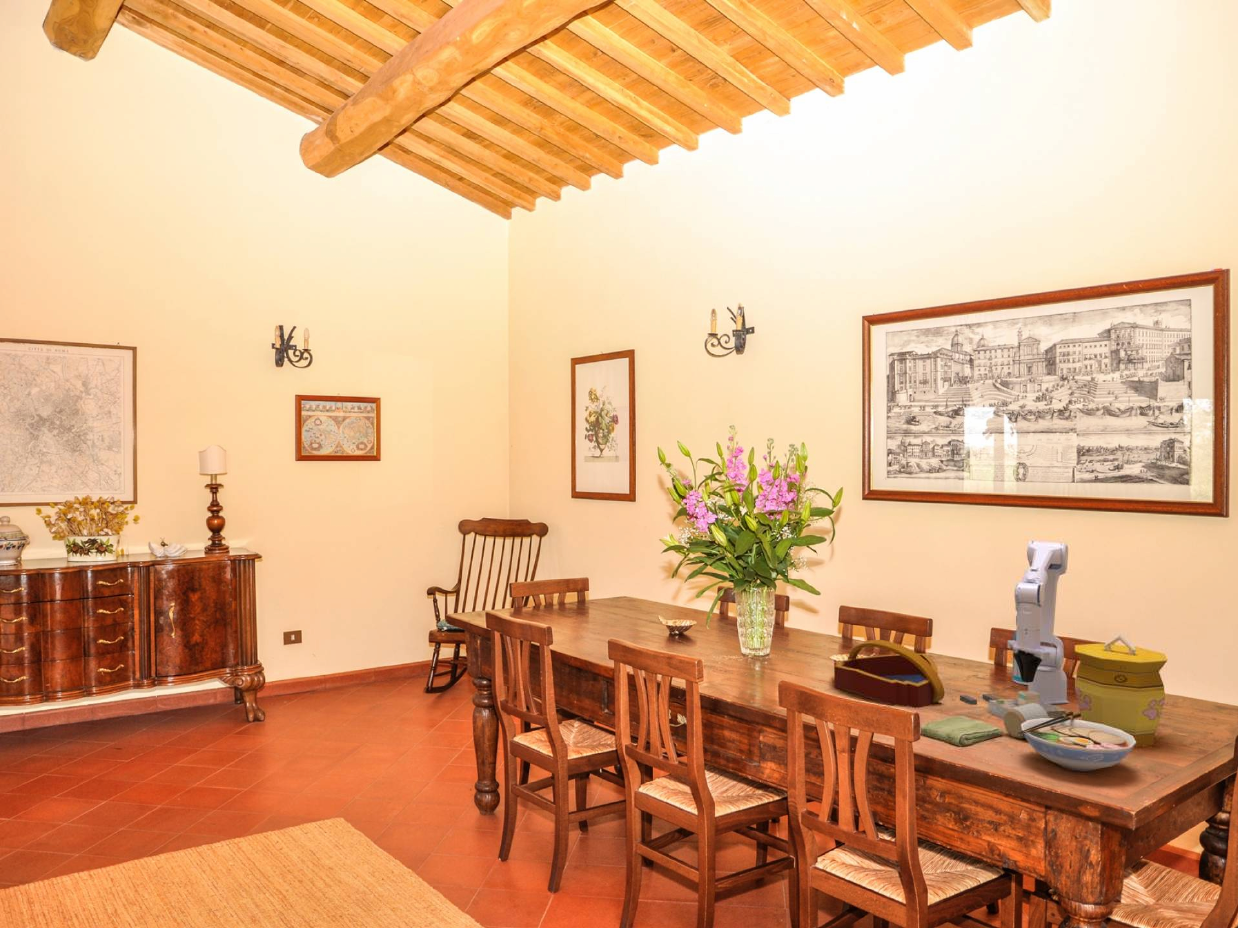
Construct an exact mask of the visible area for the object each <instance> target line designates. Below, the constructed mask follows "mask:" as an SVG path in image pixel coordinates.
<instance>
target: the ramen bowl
mask: <svg viewBox="0 0 1238 928" xmlns="http://www.w3.org/2000/svg"><path fill="white" fill-rule="evenodd" d="M1065 717H1066V718H1065ZM1077 718H1081V714H1080V712H1077V713H1075V714H1074V711H1069V712H1066V714H1063V715H1061V716H1058V717H1056V718H1039V719H1032V720H1027V721H1025V722H1024V723H1022V724H1021V727H1022V731H1021V732H1019V733H1020V734H1023V733H1024V735H1025V737H1026V738H1025V739H1026V740H1027V742H1028V744H1029V745H1030V746H1031V747H1032V749H1033V750H1034V751H1035V752H1036V753H1038V754H1040V756H1042V757H1043V758H1045V759H1047V760H1048V761H1051V762H1052V763H1056V764H1057V765H1058V766H1059V767H1062V768H1064V769H1067V768H1068V769H1067V770H1071V771H1075V770H1078V771H1077V772H1092V771H1095V770H1098V769H1103V768H1109V767H1112V766H1115V765H1117V764H1119V763H1120V762H1121V761H1122V760H1123V759H1124V758H1125V757H1127V756H1128V755H1129V753H1130V752H1131V750H1133V749H1134V748H1135V747H1134V745H1135V744H1136V741H1135V739H1134V737H1133V736H1131V735H1130V734H1128V733H1126V732H1124V731H1122V730H1119V729H1116V728H1113V727H1110V726H1106V725H1103V724H1098V723H1093V722H1088V721H1083V720H1081V719H1077ZM1022 732H1023V733H1022ZM1019 733H1017V734H1019ZM1091 770H1092V771H1091Z"/></svg>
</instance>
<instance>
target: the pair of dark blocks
mask: <svg viewBox="0 0 1238 928" xmlns="http://www.w3.org/2000/svg"><path fill="white" fill-rule="evenodd" d="M982 699H983V700H984V699H985V701H987V702H989V700H996V699H1000V698H999V697H997V696H995V695H992V694H990V693H985V694H982ZM959 701H962V702H964V703H966V704H968V705H978V699H976V698H974V697H973V696H972V697H971V696H969V695H967V694H963V695H960V696H959Z"/></svg>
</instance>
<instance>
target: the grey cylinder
mask: <svg viewBox="0 0 1238 928" xmlns="http://www.w3.org/2000/svg"><path fill="white" fill-rule="evenodd" d="M1039 718H1049V717H1048V714H1047V712H1046V711H1045V709H1044V708H1043V707H1042V706H1040V705H1039V704H1036V703H1030V704H1026V705H1022V706H1018V707H1014V708H1011V709H1009V710H1008V711H1007V712H1006V713H1005V715H1004V719H1003V725H1004V728H1005V730H1006V731H1007V733H1008V734H1009V735H1010V736H1011V737H1013V738H1015V739H1026V737H1025V735H1024V733H1023V732H1022V733H1023V734H1020V733H1019V732H1021V731H1022V727H1021V724H1022V723H1024V722H1025V721H1027V720H1032V719H1039ZM1017 733H1019V734H1017Z"/></svg>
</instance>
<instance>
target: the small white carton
mask: <svg viewBox="0 0 1238 928" xmlns="http://www.w3.org/2000/svg"><path fill="white" fill-rule="evenodd" d="M1039 696H1040V695H1039V694H1038V693H1036V692H1033V691H1028V690H1021V691H1018V693H1017V699H1018V706H1022V705H1026V704H1030V703H1036V704H1039Z"/></svg>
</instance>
